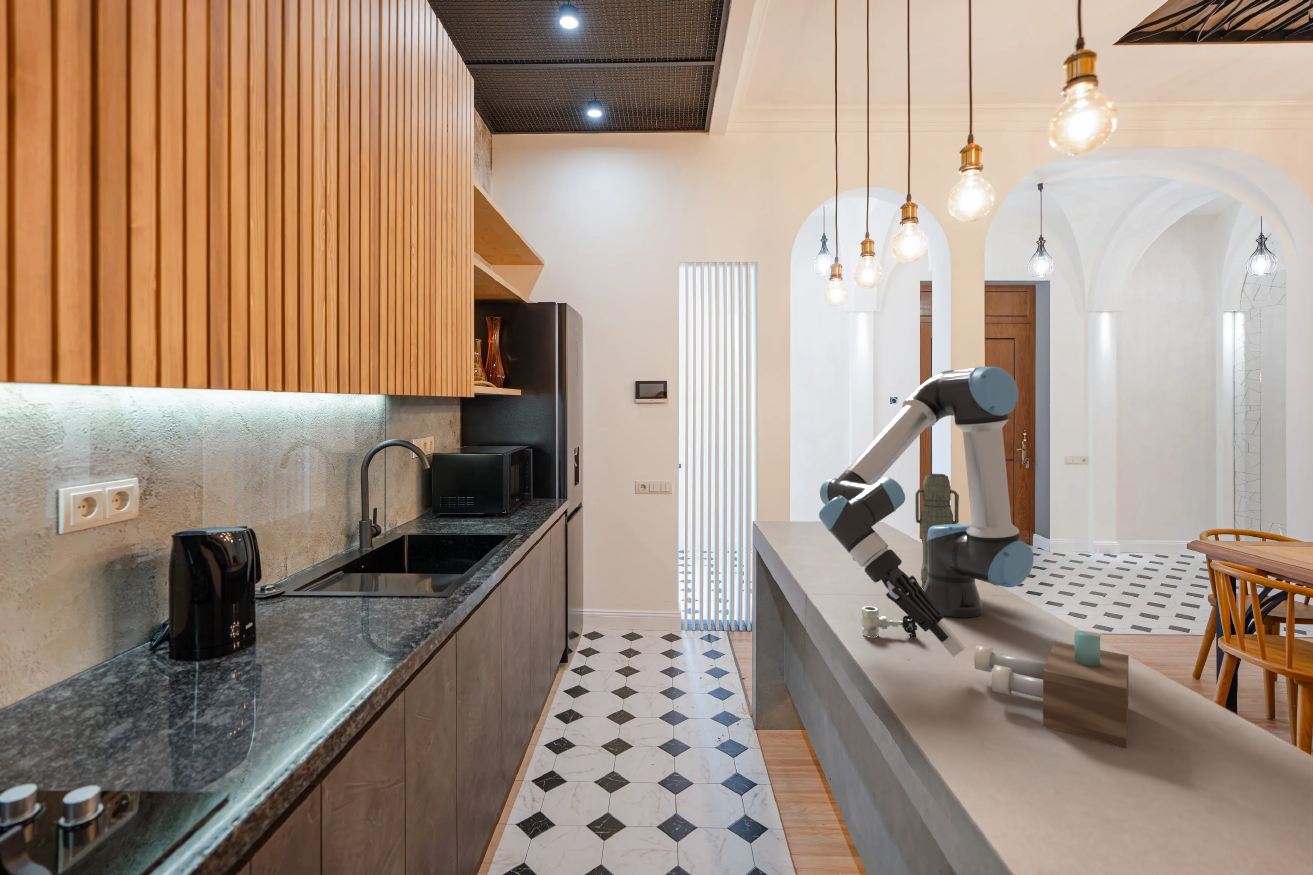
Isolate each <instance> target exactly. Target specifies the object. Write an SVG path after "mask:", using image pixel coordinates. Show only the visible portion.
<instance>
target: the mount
mask: <svg viewBox="0 0 1313 875" xmlns="http://www.w3.org/2000/svg"><path fill="white" fill-rule="evenodd" d="M1074 650H1075V644H1070V643H1065V642H1060V641H1054V642H1053V644H1052V648H1051V650H1050V653H1049V655H1048V657H1047V660H1046V662H1045V663H1046V665H1045V668H1044V670H1043V698H1042V703H1043V704H1042V705H1043V707H1042V713H1043V714H1042V723H1043V724H1042V726H1043V727H1046V728H1048V729H1049V728H1050V729H1053V730H1057V731H1061V732H1064V733H1069V734H1071V735H1076V736H1079V737H1083V738H1087V739H1091V740H1095V741H1098V742H1102V743H1106V744H1108V745H1109V744H1110V745H1112V746H1113V745H1114V746H1117V747H1121V748H1124V749H1126V748H1127V738H1128V737H1127V736H1128V721H1129V718H1128V717H1129V654H1126V653H1125V654H1123V653H1118V652H1113V651H1108V650H1102V649H1100V666H1099V667H1088V666H1084V665H1080V664H1078V663H1076V662H1075V661H1074Z"/></svg>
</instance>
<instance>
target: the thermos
mask: <svg viewBox="0 0 1313 875" xmlns="http://www.w3.org/2000/svg"><path fill="white" fill-rule="evenodd" d="M950 483H951V481H950V479H949V476H948V475H946V474H944V473H928V474H926V475H925V476H924V479H923V482H922V488H918V489H917V491H916V492H915V495H914V496H915V505H914V506H915V523H917V524H919V525H920V531H921V533H922V564H921V566H920V567H921V568H920V581H921V588H923V590H924V587H925V585H926V582H927V578H928V567H927V538H928V530H929V528H930V527H932V526H935V525H947V524H959V504H960V503H959V502H960V500H959V499H960V495H959V494H958V493H957V492H956V490H953V489H951V484H950ZM920 493H922V500H923V504H922V509H921V512H920V508H919V503H920V501H919V499H920V498H919V496H920V495H919V494H920ZM951 494H953V495H954V514H953V512H952V509H951V508H952V505H951V500H952V499H951V498H952V497H951V496H952V495H951ZM919 514H920V515H919ZM919 516H920V517H919Z"/></svg>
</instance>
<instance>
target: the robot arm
mask: <svg viewBox="0 0 1313 875" xmlns="http://www.w3.org/2000/svg"><path fill="white" fill-rule="evenodd" d="M1018 402H1019V389H1018V386H1017V383H1016V381H1015V379H1014V377H1013V376H1012V375H1011V374H1010V373H1008V371H1007V370H1005V369H1004V368H1001V367H999V366H978V367H970V368H963V369H949V370H944V371H941V372H940V373H939V372H938V373H937V374H935V375H933V376H931V377H930V378H929V379H927V380H926V381H924V382H923V383H922V384H920V385H919V386H918V387H916V388H915V390H914V391H913V392H912V393H911V394H910V395H909V396H908V397H906V399H904V401H903V402H902V405H901V406H902V409H901V410H899V412H898V413H897V414H896V415H895V417H893V419H892V420H891V421H890V422H889V423H888V424H887V425H886V426H885V427H884V428H883V430H882V431H881V432H880V433H879V434H877V435H876V437H875V438H874V439H873V440H872V441H871V443H869V445H868V446H867V447H866V448H865V449H864V450H863V451H862V452H861V453H860V454H859V455H858V456H857V458H855V460H854V461H852V463H851V464H850V465H849V466H848V467H847V468H846V469H845V471H843V473H841V474H840V475H839V477H838V478H829V479H827V480H825V481H824V482H823V483H822V484H821V485H820V489H819V496H820V497H819V498H820V500H821V501H822V503H823V504H824V506H823V507H822V508H821V509H820V511H819V513H818V517H819V519H820V521H821V522H822V524H823V525H824V527H825V528H826V529H827V531H828V532H830V533H831V534H832V535H833V536H834V538H835V539H836V540H837V541H838V542H839V543H840V544H841V545H842V546H843V547H842V548H844V549H845V550H846V551H847V553H848V554H849V555H850V557H851V559H852V560H853V561H855V562H856V563H857V564H858V565H859V566H860V567H862V568H864V572H865V573H866V575H867V576H868V577H869V578H870V579H871V580H872V581H873V582H874V583H878V582H882V583H883V585H884V587H885V588H886V589H887V590H888V592H887V593H885V595H886V597H887V598H888V599H889V600H891V601H892V602H893V603H895V604H896V605H897V606H898V607H899V608H900V609H901V610H902V611H903V612H904V613H905V614H906V616H909V617H910V618H911V620H912V619H913V620H914V621H915V624H916V625H918V626H919V627H920V629H922V630H923V631H924V632H928V631H930V632H931V633H932V634H933V636H934V637H935V638H936V639H937V640H938V641H939V642H940V643H941V645H943V647H944V648H945V649H946V650H947V652H948V653H950V655H951V656H952V657H953V658H954V657H956V656H958V655H959V654H960V653H962V652H963V651H964V650H965V649H966V648H967V647H966V646H965V645H964V644H963V642H962V641H961V640H959V638H958V637H957V636H956V635H955V634H954V633H953V632H952V630H950V628H949V627H948V626H947V625H946V623H944V621H943V619H944V618H945V617H951V618H976V617H978V616H981V615H982V614H983V605H984V604H983V601H982V599H981V596H980V593H979V590H978V587H977V585H976V580H978V581H981V582H985V583H988V584H991V585H993V586H1000V587H1004V588H1015V587H1017V586H1020V585H1022V583H1023V582H1025V581H1026V580H1027V578H1028V576H1029V575H1030V574H1031V571H1032V569H1033V566H1034V556H1035V555H1034V552H1033V549H1032V548H1031V547H1030V546H1029V544H1027V543H1026V542H1024V541H1022V540H1021V536H1020V535H1021V534H1020V530H1019V528H1018V527H1016V526H1015V525H1014V524H1013V523H1012V515H1011V506H1010V505H1011V504H1010V496H1009V485H1008V475H1007V474H1008V473H1007V465H1006V453H1005V445H1004V444H1005V443H1004V432H1003V427H1004V426H1005V425H1006V424H1007V423H1008V421H1009V414H1010V413H1011V412H1013V411H1014V410H1015V408H1016V404H1017V403H1018ZM949 416H954V418H953V419H954V424H955V425H954V426H956V427H957V428H959V429H960V430H961V431H962V437H963V445H964V446H963V447H964V448H963V449H964V455H965V456H964V458H965V467H966V476H967V477H966V478H967V485H968V486H967V487H968V497H969V506H970V517H971V524H968V523H962V524H961V523H957V524H947V525H935V526H932V527H930V528H929V530H928V538H927V567H928V578H927V582H926V585H925V587H924V589H922V586H921V585H920V584H919V582H918V580H917V579H916V577H915V576H914V575H910V576H908V575H907V574H906V573H905V572H904V571H903V570H902V569H900V568H899V566H900V565H901V564H902V559H901V558H900V557H899V556H898V555H897V553H896V552H895V551H894V550H893V549H891V548H890V549H888V548H889V544H888V543H887V542H886V541H885V540H884V539H883V538H882V537H881V536H880V535H879V534H878V532H876V531H875V529H874V528H873V526H875V525H876V524H878V523H879V522H881V521H882V520H883V519H886V518H887V517H888V516H889V515H891V514H892V513H894V512H896V510H898V509H899V508H900V507H901V506H903V504H904V503H905V501H906V494H905V491H904V489H903V487H902V486H901V484H900V483H899V482H898V481H897V480H895V479H894V478H891V477H889V476H888V477H886V476H885V477H883V475H884V474H885V473H886V472H887V471H888V470H889V469H890V468H891V467H892V465H894V464H895V462H896V461H897V460H898V459H899V458H900V457H901V456H902V455H903V453H905V451H906V450H907V449H908V448H909V447H910V446H911V445H912V444H913V442H914V441H916V439H917V438H919V436H920V435H921V434H922V433H923V432H924V431H925V430H926V429H927V428H931V427H933V426H935V424H937V422H938V421H939V420H941V419H943V418H945V417H949ZM881 477H882V478H881Z"/></svg>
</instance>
